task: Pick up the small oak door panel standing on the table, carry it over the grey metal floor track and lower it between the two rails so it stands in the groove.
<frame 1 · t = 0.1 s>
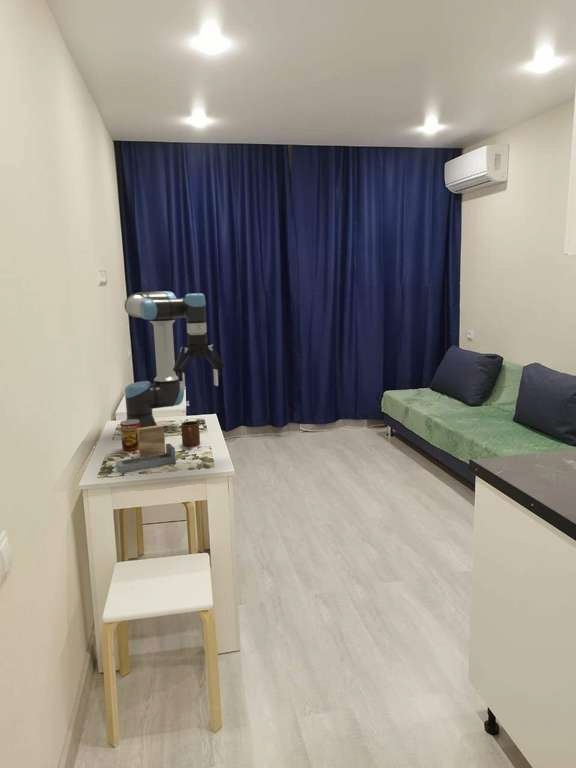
hand: (200, 387, 224), 28 cm above the table, fingers open, 13 cm apart
door panel: (152, 456, 230), on the table
mug: (191, 446, 243), on the table
track: (146, 464, 219), on the table
canned food: (132, 449, 240), on the table
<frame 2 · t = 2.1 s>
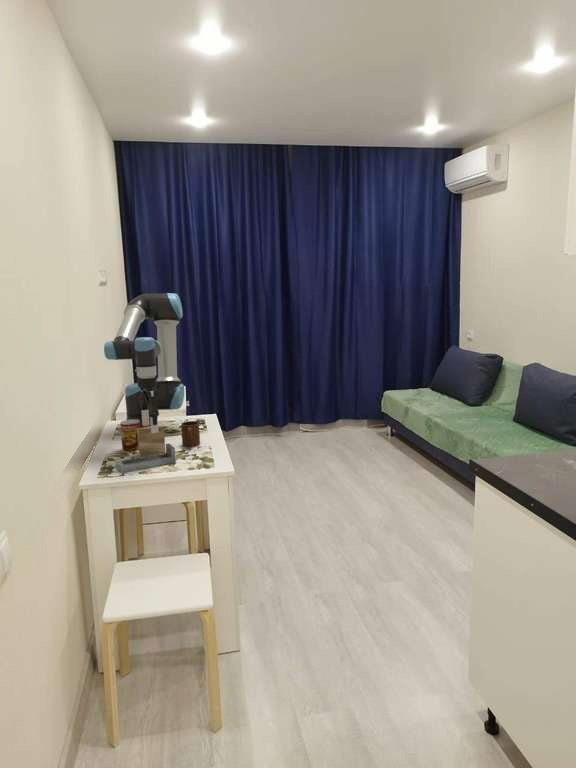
hand: (150, 429, 228), 11 cm above the table, fingers open, 13 cm apart
nothing on the table moved.
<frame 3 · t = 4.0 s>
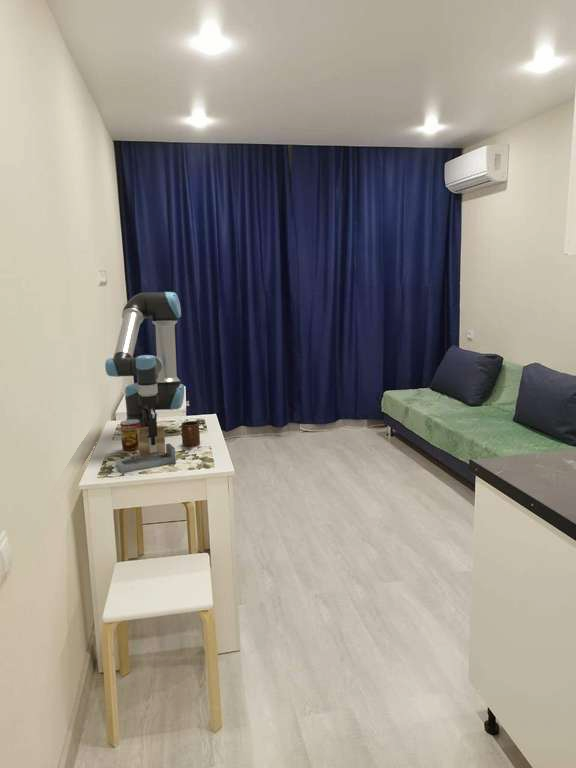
hand: (152, 451, 230), 2 cm above the table, fingers closed on door panel, 3 cm apart
door panel: (152, 455, 230), on the table, touching gripper
everything else where it was.
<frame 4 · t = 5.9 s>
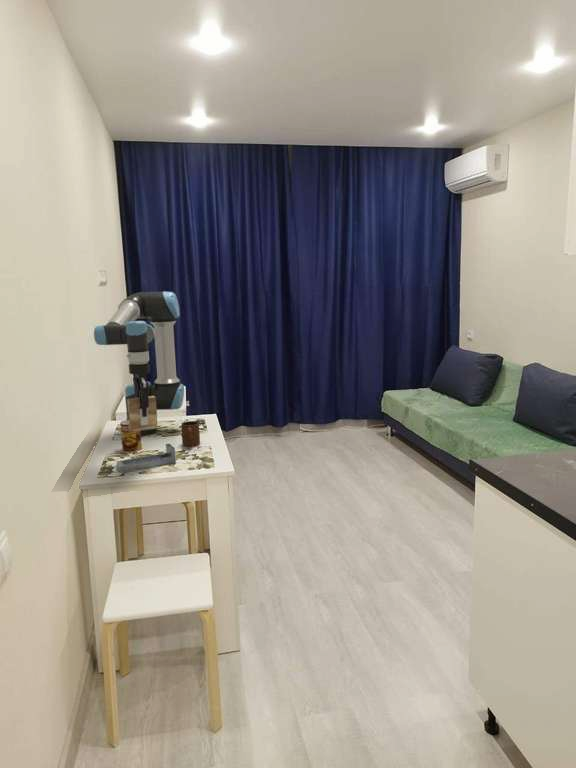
hand: (143, 423, 216), 17 cm above the table, fingers closed on door panel, 3 cm apart
door panel: (143, 428, 216), point 14 cm above the table, touching gripper
everything else where it was.
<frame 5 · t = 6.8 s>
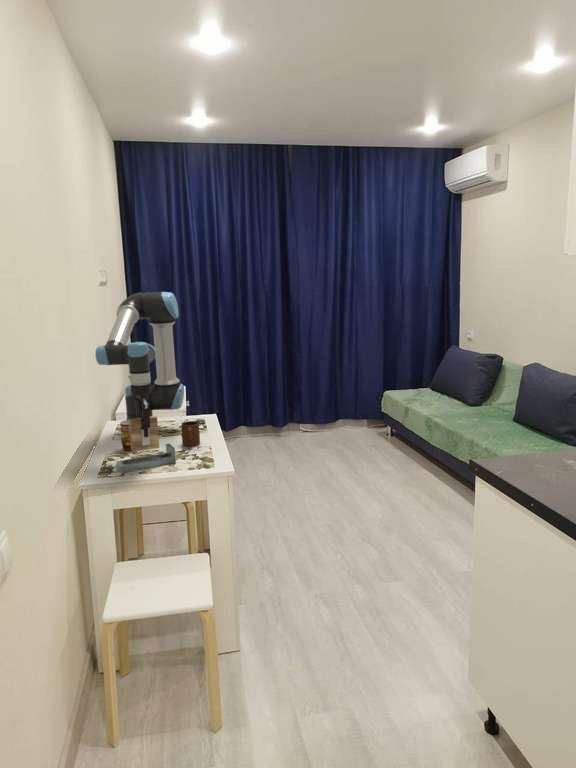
hand: (144, 443, 218), 9 cm above the table, fingers closed on door panel, 3 cm apart
door panel: (145, 448, 218), point 7 cm above the table, touching gripper
everything else where it was.
when the fingers open (5 cm above the table, at t = 7.7 s): door panel drops 3 cm, resting in track.
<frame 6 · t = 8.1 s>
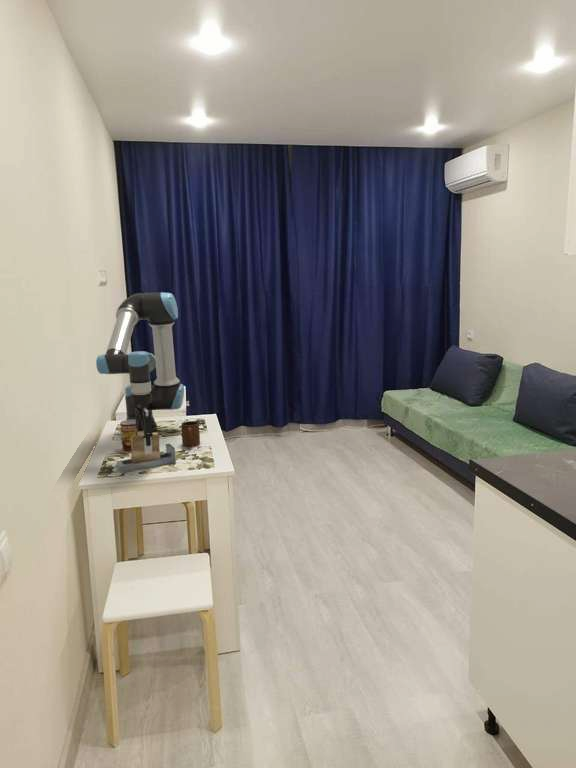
hand: (145, 450, 218), 6 cm above the table, fingers open, 8 cm apart
door panel: (146, 464, 219), resting in track
everything else where it was.
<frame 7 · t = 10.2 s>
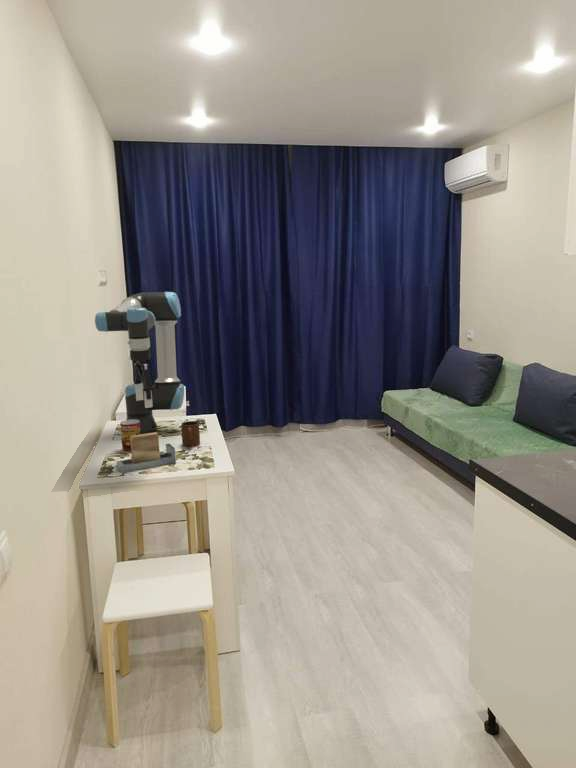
hand: (144, 403, 219), 23 cm above the table, fingers open, 13 cm apart
nothing on the table moved.
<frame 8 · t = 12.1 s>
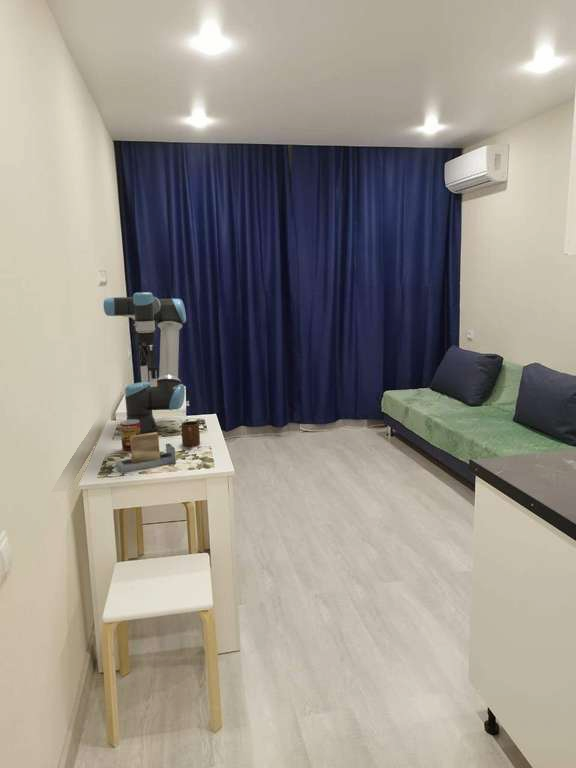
hand: (149, 384, 230), 29 cm above the table, fingers open, 13 cm apart
nothing on the table moved.
at the end: door panel inside the target area on the track (0.1 cm from its centre), point 0.0 cm above the track's base; door panel tilted 0°; the gripper is holding nothing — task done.
